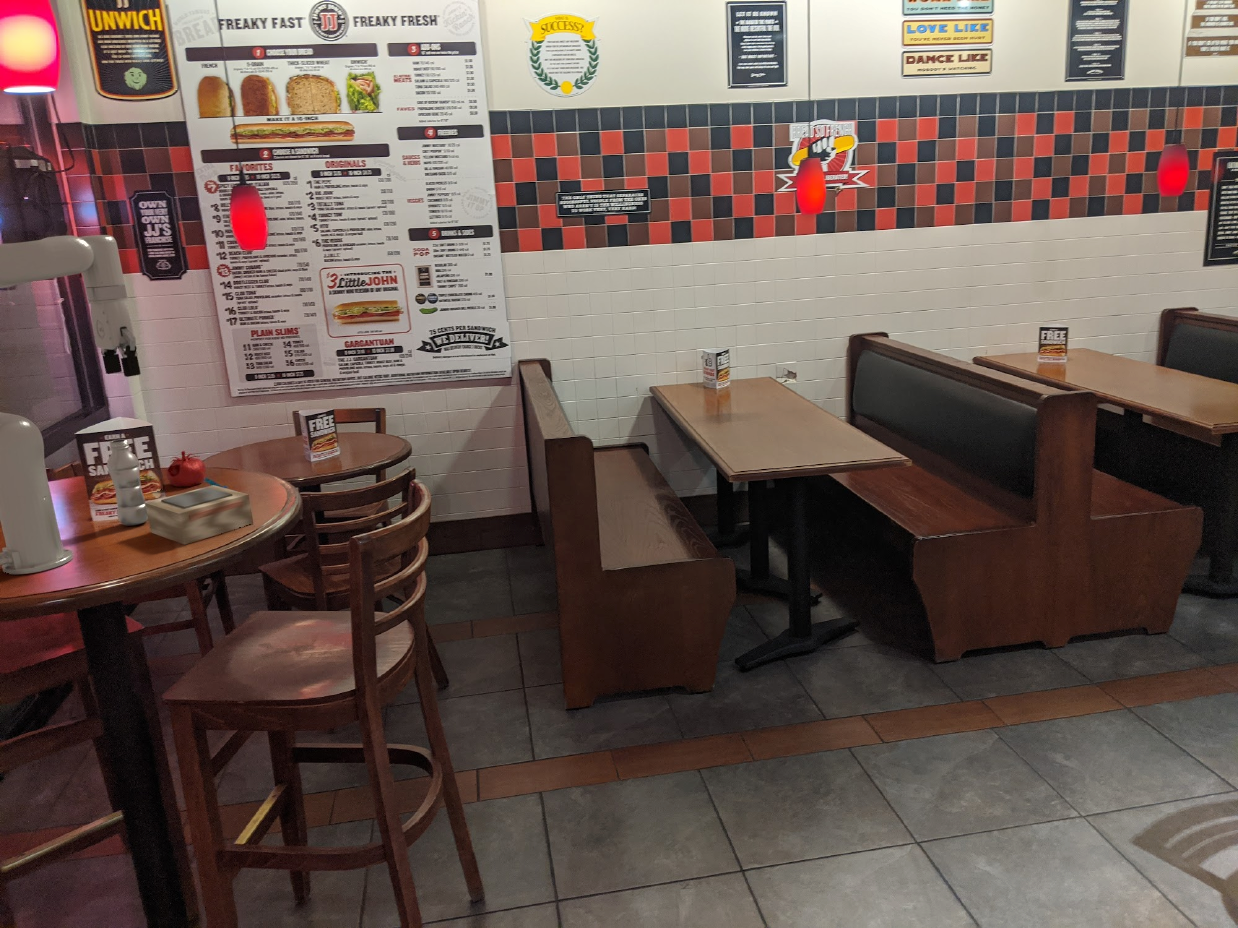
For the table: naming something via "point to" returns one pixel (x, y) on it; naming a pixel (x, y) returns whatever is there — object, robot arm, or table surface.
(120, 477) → the plastic bottle
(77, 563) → the table surface
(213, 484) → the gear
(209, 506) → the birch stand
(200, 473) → the pomegranate
